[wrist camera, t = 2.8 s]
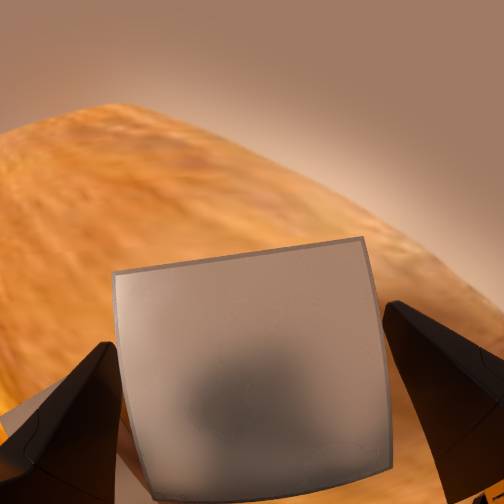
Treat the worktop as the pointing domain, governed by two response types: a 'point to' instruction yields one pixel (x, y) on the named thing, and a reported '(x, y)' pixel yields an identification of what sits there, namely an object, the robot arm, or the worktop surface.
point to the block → (127, 461)
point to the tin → (255, 373)
